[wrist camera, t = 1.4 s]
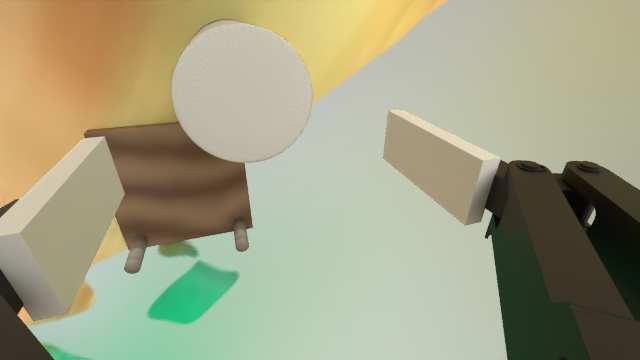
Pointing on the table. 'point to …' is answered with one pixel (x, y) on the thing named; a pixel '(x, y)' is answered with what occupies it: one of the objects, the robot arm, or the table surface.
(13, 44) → the table surface
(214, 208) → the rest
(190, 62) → the container
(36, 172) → the table surface
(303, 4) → the table surface
